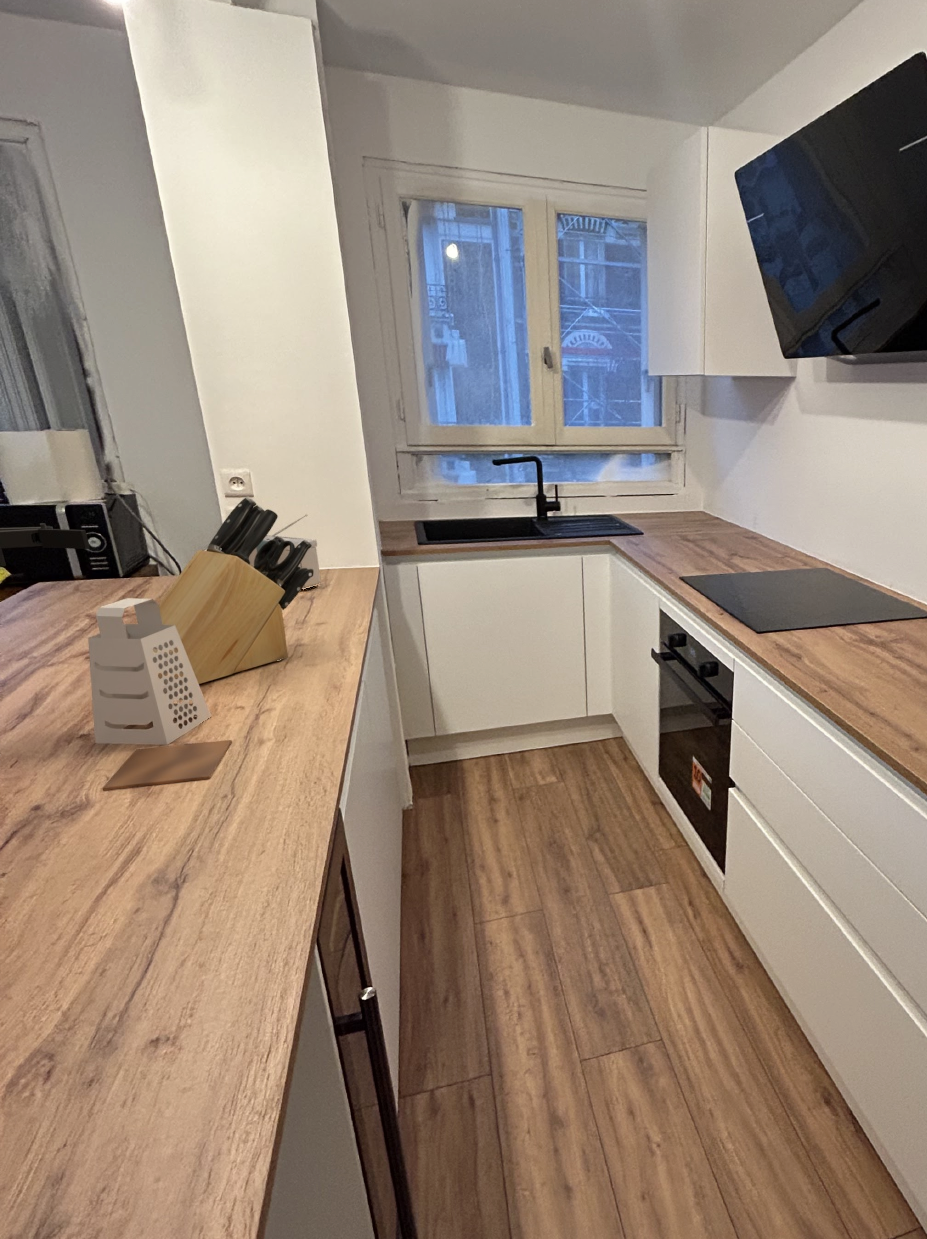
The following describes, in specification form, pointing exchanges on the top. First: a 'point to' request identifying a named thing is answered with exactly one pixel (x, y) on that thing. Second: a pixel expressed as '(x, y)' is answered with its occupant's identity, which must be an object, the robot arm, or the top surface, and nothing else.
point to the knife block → (235, 596)
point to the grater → (141, 677)
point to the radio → (307, 562)
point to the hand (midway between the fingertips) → (46, 547)
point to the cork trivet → (169, 764)
